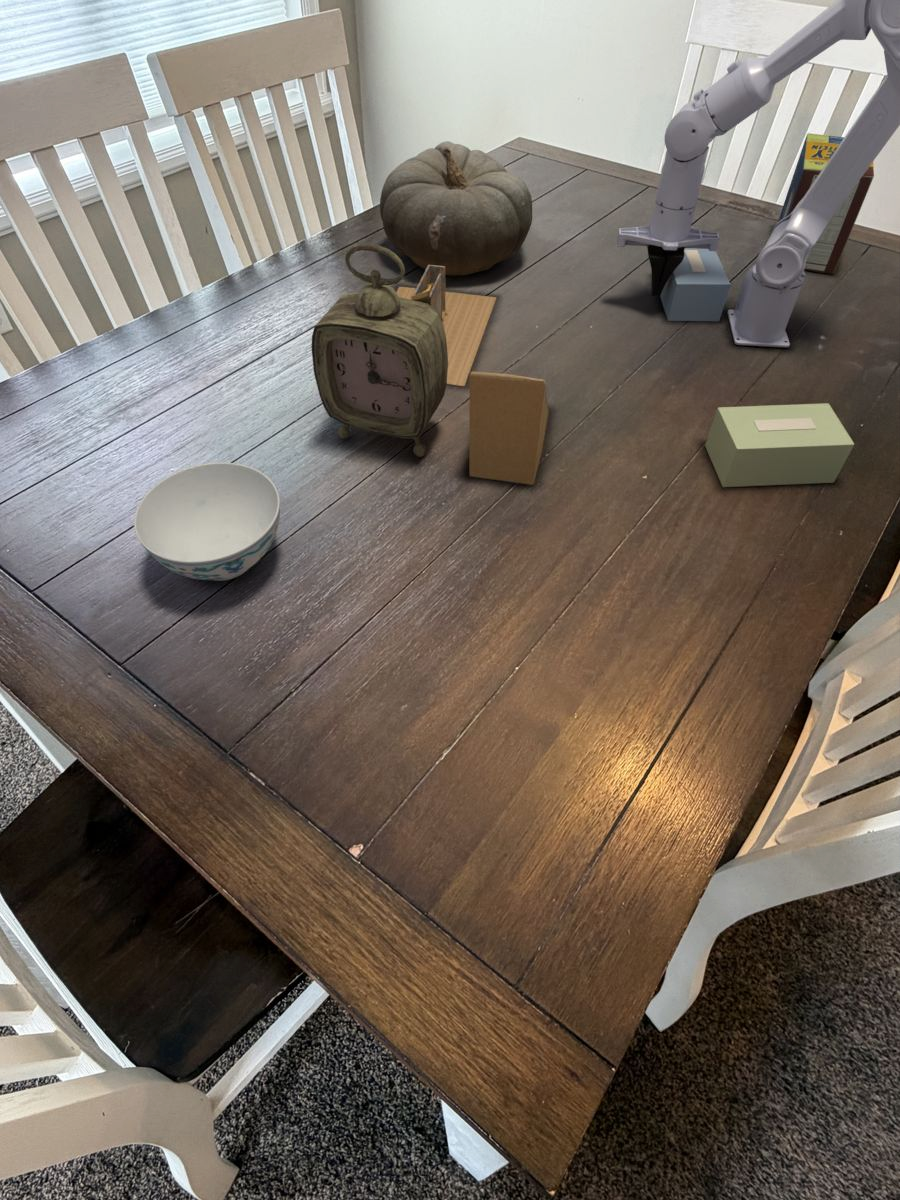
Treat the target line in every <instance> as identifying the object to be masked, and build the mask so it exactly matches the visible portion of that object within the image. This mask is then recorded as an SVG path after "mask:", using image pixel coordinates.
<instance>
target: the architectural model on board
mask: <svg viewBox="0 0 900 1200" xmlns="http://www.w3.org/2000/svg"><path fill="white" fill-rule="evenodd" d="M424 270H425V271H424V272H423V274H422V276H421V279H420V280H419V281H418V284H417V286H416V287H407V286H399V287H398V288H397V290H396V293H397V295H398V297H402V298H406V299H410V300H414V301H418V302H422V303H425V304H428V305H430V306H432V307H433V308H435V309H437V310H438V312H439V314H440V317H441V319H442V322H443V326H444V330H445V335H446V342H447V354H448V372H447V385H453V386H459V387H460V386H461V387H465V386H466V383H467V380H468V377H469V376H470V373H471V369H472V367H473V364H474V362H475V358H476V356H477V352H478V350H479V347H480V345H481V341H482V339H483V336H484V334H485V331H486V328H487V325H488V322H489V320H490V317H491V314H492V312H493V309H494V306H495V303H496V300H497V296H489V295H479V294H470V293H468V294H467V293H461V292H453V291H446V275H445V266H437V265H428V266H427V268H426V269H424Z"/></svg>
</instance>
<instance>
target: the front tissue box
mask: <svg viewBox="0 0 900 1200" xmlns="http://www.w3.org/2000/svg"><path fill="white" fill-rule="evenodd" d="M854 446H855V443H854V440H853V439H852V437H851V436H850V435H849V433H848V431H847V430H846V428H845V427H844V425H843V424H842V422H841V420H840V418H839V417H838V416H837V414H836V413H835V411H834V409H833V408H832V406H831V405H830V403H829V402H825V403H823V402H822V403H802V404H800V403H797V404H772V405H771V404H770V405H747V406H745V405H744V406H720V407H717V408H716V412H715V415H714V417H713V421H712V424H711V427H710V430H709V433H708V435H707V439H706V441H705V444H704V447H705V449H706V451H707V455H708V456H709V459H710V461H711V463H712V466H713V468H714V470H715V472H716V475H717V478H718V480H719V482H720V484H721V487H722V488H736V487H758V486H759V487H760V486H761V487H762V486H763V487H765V486H785V485H786V486H787V485H788V486H789V485H809V484H811V485H812V484H832V483H835V482H836V480H837V478H838V476H839V474H840V472H841V471H842V470H843V467H844V465H845V463H846V461H847V459H848V457H849V456H850V454H851V452H852V450H853V448H854Z"/></svg>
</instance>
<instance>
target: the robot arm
mask: <svg viewBox="0 0 900 1200" xmlns="http://www.w3.org/2000/svg"><path fill="white" fill-rule="evenodd" d="M871 31H872V33H873V34H874V37H875V38H876V39H877V41H878V42H879V44H880V45H881V47H882V49H883V55H884V62H885V69H886V74H887V75H886V76H885V77H884V79H883V80H882V81H881V83H880V85H879V86H878V87H877V88H876V90H875V92H874V94H873V95H872V96H871V98H870V99H869V100H868V102H867V103H866V105H865V107H864V108H863V109H862V110H861V112H860V114H859V116H858V117H857V118H856V120H855V121H854V122H853V124H852V126H851V127H850V128H849V130H848V131H847V133H846V134H845V136H843V137H844V139H843V140H842V142H841V143H840V145H839V146H838V148H837V149H836V150H835V152H834V153H833V155H832V156H831V158H830V159H829V161H828V162H827V164H826V165H825V167H824V168H823V170H822V171H821V172H820V174H819V175H818V177H817V178H816V180H815V181H814V183H813V184H812V186H811V187H810V189H809V190H808V191H807V193H806V194H805V196H804V197H803V198H802V200H801V201H800V202H799V203H798V204H797V206H796V207H795V209H794V210H793V211H792V212H791V213H790V215H788V216H787V217H785V218H784V219H782V220H780V221H779V222H778V221H777V222H776V224H775V225H774V226H773V227H772V229H771V231H770V234H769V236H768V239H767V240H766V243H765V245H764V247H763V248H762V249H761V251H760V252H759V253H758V256H757V257H756V260H755V264H754V265H752V266H751V267H750V268H749V269H748V271H746V274H745V276H744V279H743V282H742V285H741V288H740V291H739V294H738V298H737V301H736V304H735V307H734V309H728V310H727V313H726V314H727V318H728V322H729V326H730V330H731V335H732V339H733V343H734V344H735V345H737V346H749V347H750V346H751V347H767V348H783V349H784V348H785V349H787V348H789V347H790V345H791V343H790V340H789V337H788V334H787V331H786V329H787V327H788V324H789V321H790V318H791V316H792V313H793V311H794V308H795V305H796V304H797V303H796V302H797V301H798V297H799V295H800V292H801V289H802V287H803V285H804V281H805V279H806V277H807V276H806V275H807V274H806V272H805V270H804V268H805V264H806V261H807V259H808V257H809V254H810V252H811V250H812V249H813V247H814V245H815V243H816V242H817V240H818V238H819V237H820V235H821V233H822V232H823V230H824V229H825V227H826V225H827V224H828V222H829V221H830V219H831V218H832V217H833V215H834V214H835V213H836V211H837V210H838V208H839V207H840V206H841V204H842V203H843V202H844V200H845V199H846V198H847V196H848V195H849V194H850V192H851V191H852V189H853V188H854V187H855V185H856V184H857V183H858V181H859V180H860V179H861V177H862V176H863V174H864V173H865V172H866V170H867V169H868V168H869V166H870V165H871V164H872V162H873V163H874V161H875V160H876V158H877V157H878V155H880V153H881V152H882V150H883V149H884V147H885V146H886V145H887V143H888V142H889V141H890V139H891V138H892V137H893V135H894V134H895V132H896V131H897V130H898V128H899V127H900V0H836V1H834V2H833V3H831V5H829V6H828V7H827V8H826V9H824V10H823V11H822V12H821V13H820V14H818V15H817V16H816V17H814V19H812V20H811V21H810V22H808V23H807V24H806V25H805V26H803V27H802V28H801V29H799V30H798V31H797V32H796V33H794V34H793V35H792V36H791V37H790V38H788V39H787V40H786V41H785V42H783V43H782V44H781V45H780V46H778V47H777V48H776V49H775V50H774V51H772V52H771V53H770V54H769V55H767V56H766V57H757V56H748V57H746V58H745V59H744V60H742V61H741V60H740V58H737V59H735V60H734V61H733V62H732V63H731V64H730V65H728V66H727V68H726V70H727V73H726V74H724V75H723V76H722V77H720V78H719V79H718V80H717V81H716V82H714V83H713V84H711V86H709V87H708V88H706V89H705V90H704V89H703V88H701V89H699V90H698V91H696V93H694V94H693V99H692V100H690V101H688V102H686V103H685V104H684V105H683V106H682V107H681V108H680V109H679V110H678V111H677V113H676V114H675V115H674V116H673V117H672V119H671V120H670V121H669V123H668V124H667V127H666V130H665V133H664V145H665V149H666V151H665V156H664V161H663V164H662V167H661V172H660V177H659V181H658V186H657V192H656V196H655V200H654V201H655V202H654V206H653V211H652V216H651V221H650V225H643V226H635V227H619V228H618V232H617V238H616V247H617V248H625V246H633V247H646V248H647V257H648V261H649V265H650V271H651V284H650V285H651V286H650V293H651V296H652V297H660V295H661V293H662V290H663V288H664V286H665V284H666V282H667V281H668V279H669V277H670V276H671V274H672V273H673V272H674V270H675V269H676V268H677V267H678V266H679V264H680V263H681V262H682V261H683V259H684V255H685V254H684V249H685V248H697V249H709V251H716V252H717V250H718V247H719V243H720V240H721V239H720V234H719V232H718V231H717V232H716V231H708V230H702V229H697V228H693V227H692V223H693V220H694V217H695V216H694V215H695V211H696V207H697V203H698V199H699V195H700V191H701V187H702V183H703V179H704V175H705V171H706V161H707V158H708V153H709V149H710V146H709V144H710V143H711V142H712V141H714V139H715V138H716V137H720V136H723V135H725V134H727V133H728V132H729V131H731V130H732V129H733V128H735V127H736V126H737V125H739V124H740V123H742V122H743V121H745V120H746V119H747V118H749V117H751V116H752V115H753V114H755V113H756V112H758V111H759V110H761V109H762V108H763V107H765V106H766V105H767V104H769V103H770V101H771V99H772V95H773V93H774V90H775V86H776V85H777V83H779V82H781V81H782V80H784V79H785V78H786V77H788V76H790V75H791V74H793V73H794V72H795V71H797V70H798V69H800V68H801V67H802V66H804V65H806V64H808V63H809V62H810V61H812V60H813V59H814V58H816V57H817V56H818V55H821V53H823V52H825V51H826V50H828V49H829V48H831V47H832V46H834V45H835V44H836V43H838V42H840V41H844V40H845V41H865V40H866V39H867V38H868V36H869V34H870V32H871Z"/></svg>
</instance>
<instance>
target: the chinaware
mask: <svg viewBox="0 0 900 1200" xmlns="http://www.w3.org/2000/svg"><path fill="white" fill-rule="evenodd" d="M280 517H281V499H280V494H279V491H278V488H277V487H276V485H275V484H274V482H273V481H272V480H271V479H270V478H269V477H268V476H267V475H266V474H264V473H263V472H261V471H260V470H258V469H256V468H254V467H251V466H248V465H244V464H241V463H233V462H209V463H204V464H203V463H202V464H198V465H194V466H190V467H188V468H184V469H181V470H179V471H175V472H174V473H172V474H170V475H169V476H166V477H165V478H164V479H162V480H160V481H159V482H158V483H156V484H155V485H153V487H151V489H149V491H148V492H146V494H145V495H144V496H143V497H142V498H141V500H140V502H139V504H138V505H137V508H136V510H135V513H134V518H133V528H134V533H135V536H136V538H137V540H138V541H139V543H140V544H141V546H142V547H143V548H144V550H145V551H146V552H147V553H148V554H149V555H150V556H151V557H152V558H153V559H154V560H156V561H157V562H158V563H159V564H160V565H161V566H163V567H164V568H166V569H168V570H170V571H171V572H173V573H174V574H175V573H176V574H178V575H180V576H183V577H186V578H188V579H189V578H190V579H194V580H200V581H219V582H220V581H229V580H232V579H235V578H238V577H240V576H241V575H243V574H244V573H246V572H247V571H248V570H250V568H251V567H253V566H254V565H256V564H258V562H259V561H260V560H261V559H263V557H264V556H265V555H266V554H267V552H268V551H269V549H270V547H271V546H272V544H273V542H274V540H275V537H276V535H277V531H278V528H279V524H280Z"/></svg>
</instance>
